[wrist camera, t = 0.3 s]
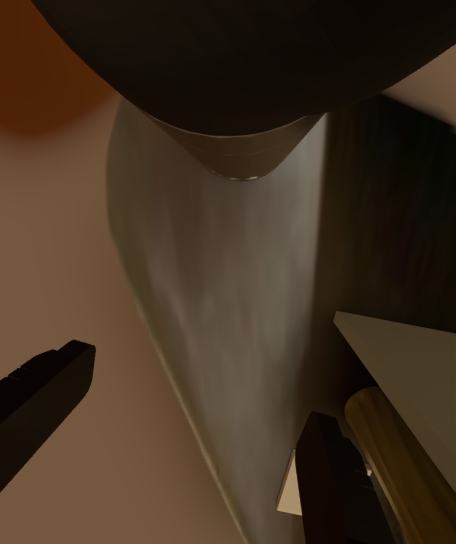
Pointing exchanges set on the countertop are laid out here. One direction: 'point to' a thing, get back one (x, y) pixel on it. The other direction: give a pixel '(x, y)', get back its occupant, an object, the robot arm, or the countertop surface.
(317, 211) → the countertop surface
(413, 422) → the shelf nook
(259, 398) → the countertop surface
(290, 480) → the tile
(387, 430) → the vase
